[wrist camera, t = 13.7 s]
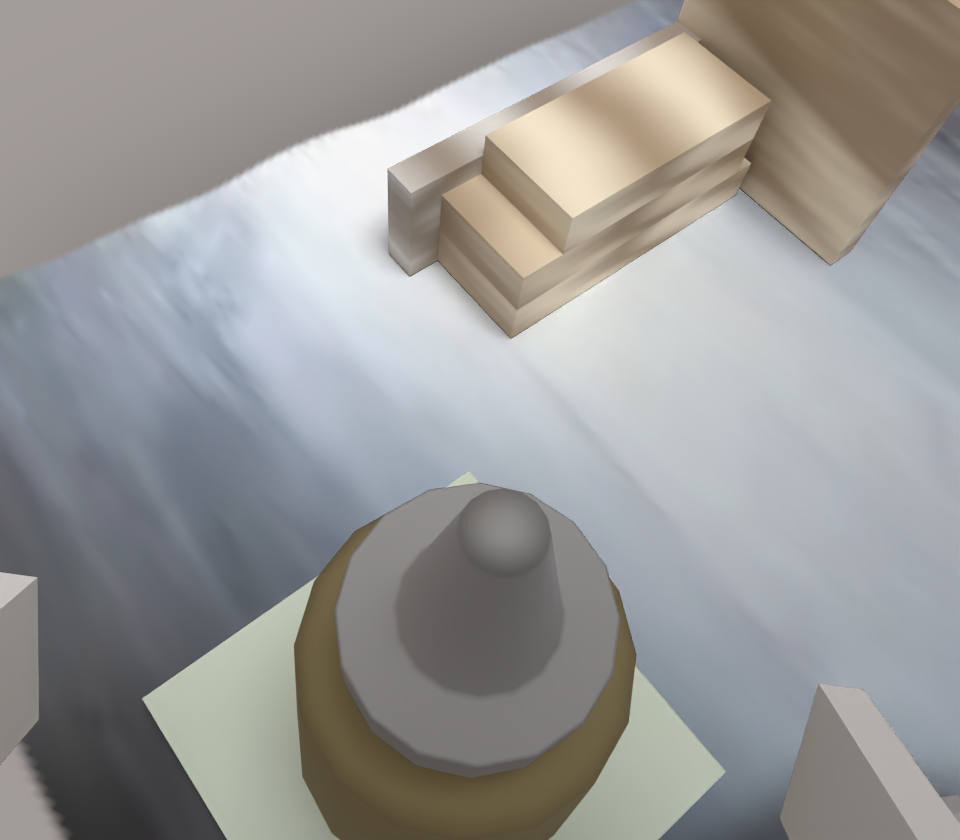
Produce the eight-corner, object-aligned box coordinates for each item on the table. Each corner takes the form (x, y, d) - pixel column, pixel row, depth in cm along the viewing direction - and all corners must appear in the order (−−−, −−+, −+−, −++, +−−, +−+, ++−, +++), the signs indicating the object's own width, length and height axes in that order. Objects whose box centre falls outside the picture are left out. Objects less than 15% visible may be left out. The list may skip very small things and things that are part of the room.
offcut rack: (669, 98, 42) (758, -157, 32) (851, 250, 38) (1020, 17, 28) (389, 253, 36) (384, 0, 26) (572, 453, 32) (654, 252, 22)
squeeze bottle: (512, 935, 24) (739, 1069, 8) (259, 811, 25) (6, 710, 9) (602, 669, 27) (880, 397, 12) (381, 570, 28) (357, 196, 13)
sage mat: (467, 481, 31) (469, 470, 30) (715, 775, 27) (725, 771, 26) (150, 704, 27) (142, 698, 26) (390, 1099, 22) (389, 1108, 22)
